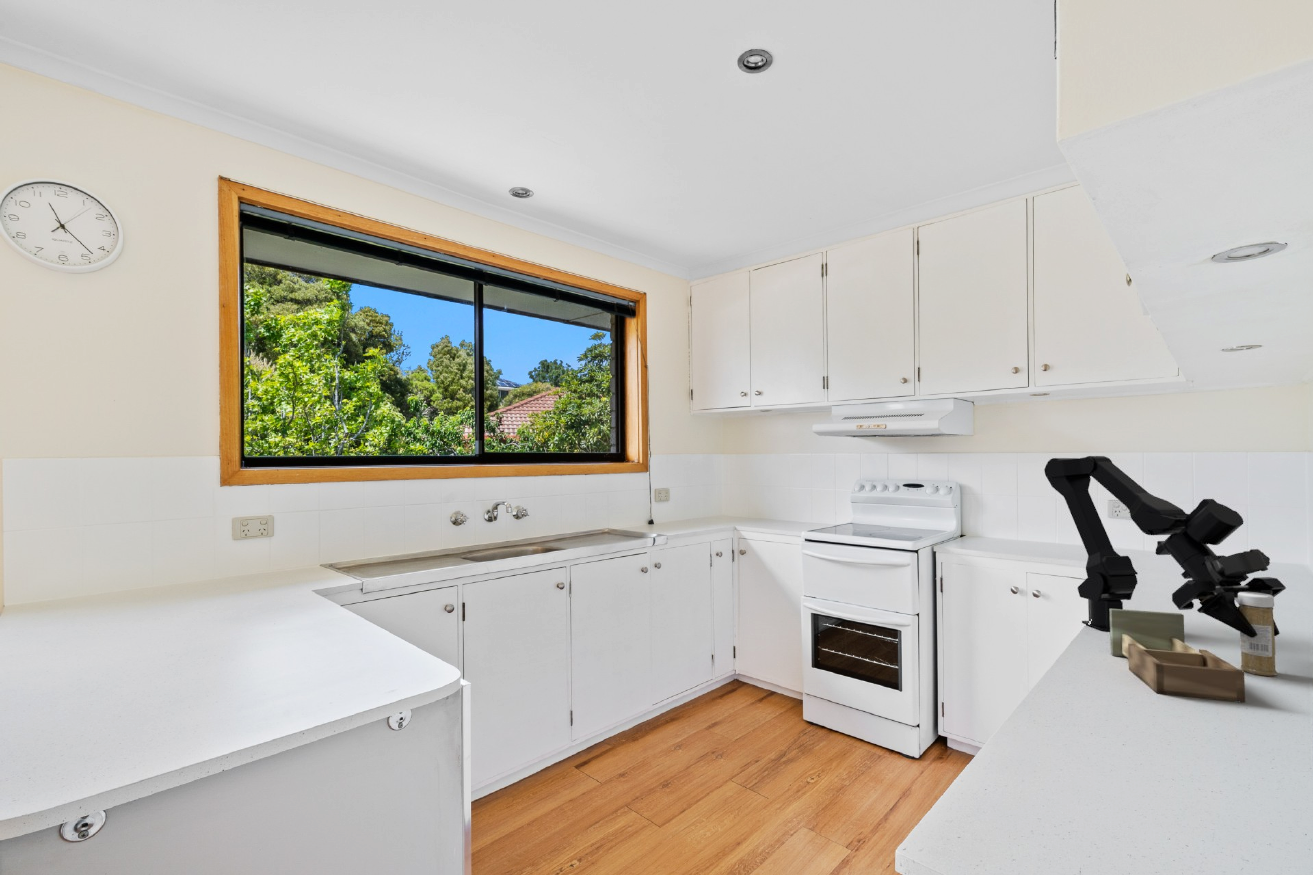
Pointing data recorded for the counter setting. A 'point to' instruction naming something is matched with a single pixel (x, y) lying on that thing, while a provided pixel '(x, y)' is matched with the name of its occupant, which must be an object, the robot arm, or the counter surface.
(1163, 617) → the drawer
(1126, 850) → the counter surface
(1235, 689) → the walnut caddy
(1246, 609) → the spice jar
